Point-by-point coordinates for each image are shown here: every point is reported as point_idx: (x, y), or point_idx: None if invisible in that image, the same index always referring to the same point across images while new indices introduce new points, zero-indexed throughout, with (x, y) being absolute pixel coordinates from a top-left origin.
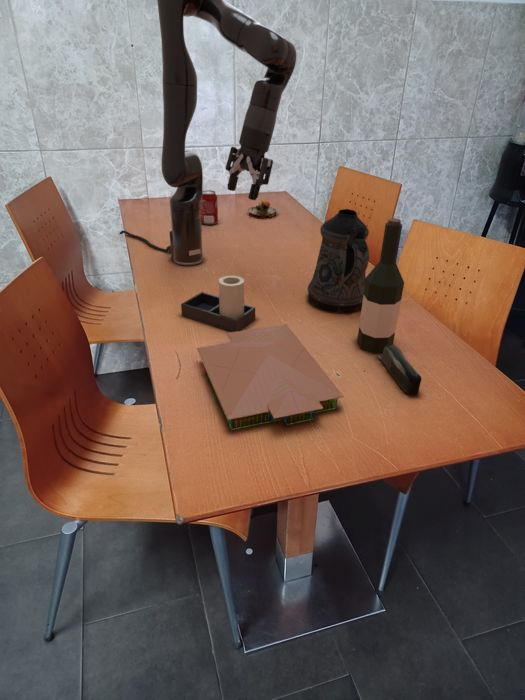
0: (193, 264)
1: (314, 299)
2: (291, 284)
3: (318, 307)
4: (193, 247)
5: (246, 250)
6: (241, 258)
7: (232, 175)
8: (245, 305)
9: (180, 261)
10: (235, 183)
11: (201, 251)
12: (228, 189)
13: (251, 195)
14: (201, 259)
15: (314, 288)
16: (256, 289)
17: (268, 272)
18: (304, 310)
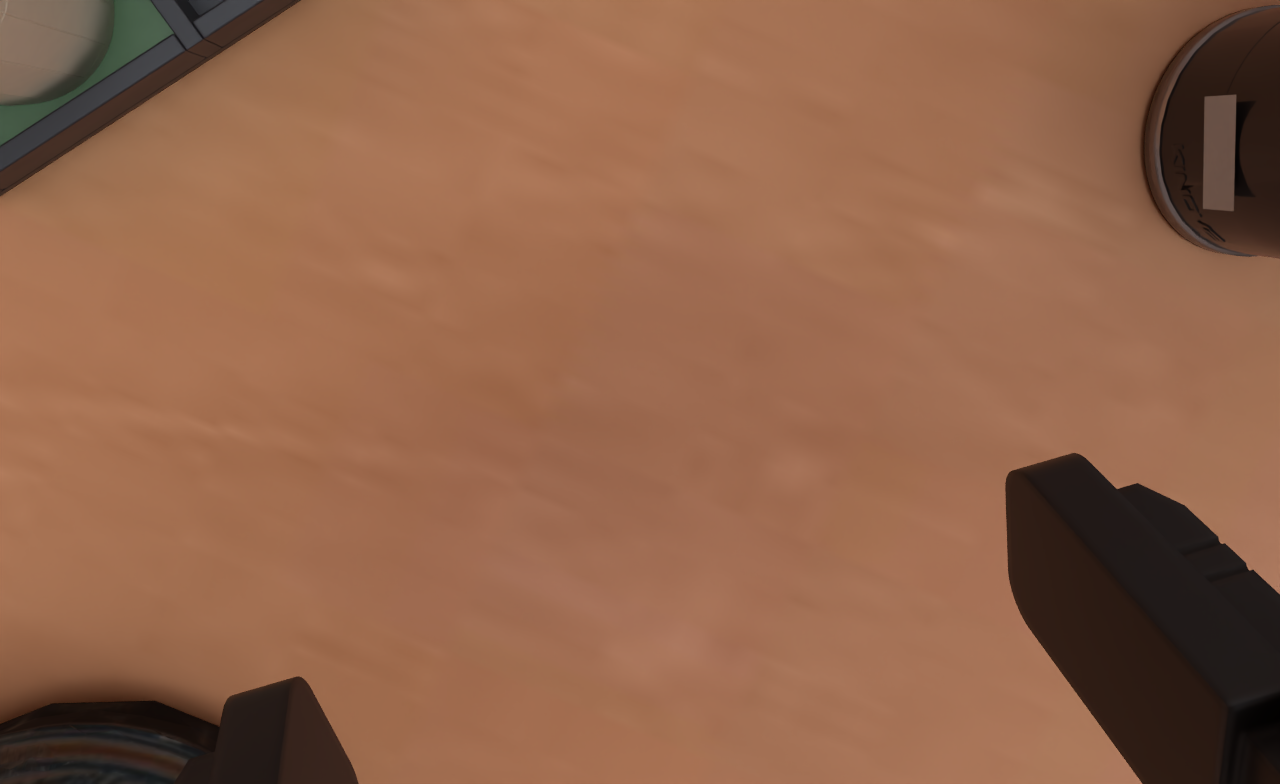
0: (1146, 134)
1: (31, 726)
2: (496, 699)
3: (18, 718)
4: (1255, 144)
5: None
6: None
7: (1266, 728)
8: (17, 139)
9: (1217, 33)
10: (1101, 694)
11: (1236, 233)
12: (1043, 464)
13: (221, 767)
14: (1184, 222)
15: (43, 780)
16: (515, 424)
17: (766, 628)
18: (27, 609)
